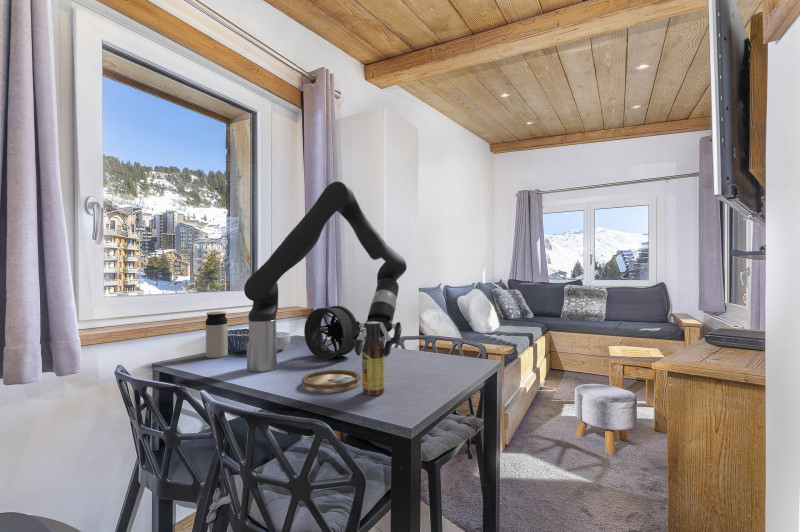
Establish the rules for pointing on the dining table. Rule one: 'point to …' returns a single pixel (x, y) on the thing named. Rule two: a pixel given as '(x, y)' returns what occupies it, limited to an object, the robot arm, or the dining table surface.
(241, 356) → the dining table surface
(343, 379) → the brown round tray
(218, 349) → the travel mug
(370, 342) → the sauce bottle
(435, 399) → the dining table surface
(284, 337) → the cereal bowl
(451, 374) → the dining table surface
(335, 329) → the wheel rim
